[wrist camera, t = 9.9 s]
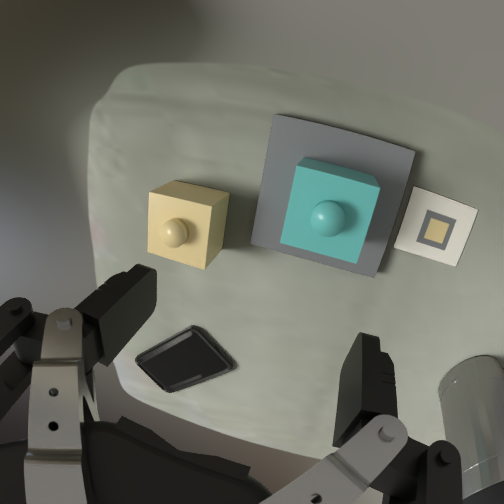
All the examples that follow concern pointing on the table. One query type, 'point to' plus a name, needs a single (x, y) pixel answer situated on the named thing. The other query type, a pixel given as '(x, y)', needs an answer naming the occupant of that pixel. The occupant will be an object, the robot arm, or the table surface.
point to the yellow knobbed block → (187, 222)
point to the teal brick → (329, 209)
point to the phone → (184, 360)
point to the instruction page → (435, 227)
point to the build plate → (341, 154)
